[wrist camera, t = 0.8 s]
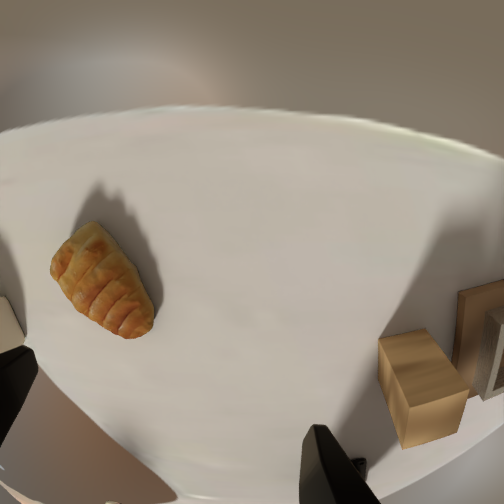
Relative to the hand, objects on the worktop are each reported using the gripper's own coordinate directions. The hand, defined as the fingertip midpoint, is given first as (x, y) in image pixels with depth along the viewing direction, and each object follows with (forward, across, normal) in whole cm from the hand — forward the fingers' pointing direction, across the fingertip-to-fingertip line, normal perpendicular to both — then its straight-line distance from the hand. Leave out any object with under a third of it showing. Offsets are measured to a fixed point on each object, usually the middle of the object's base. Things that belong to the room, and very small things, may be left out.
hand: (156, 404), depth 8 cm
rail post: (+12, -15, +6) cm, 20 cm away
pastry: (+14, +9, +5) cm, 18 cm away
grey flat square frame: (+11, -26, +2) cm, 28 cm away
